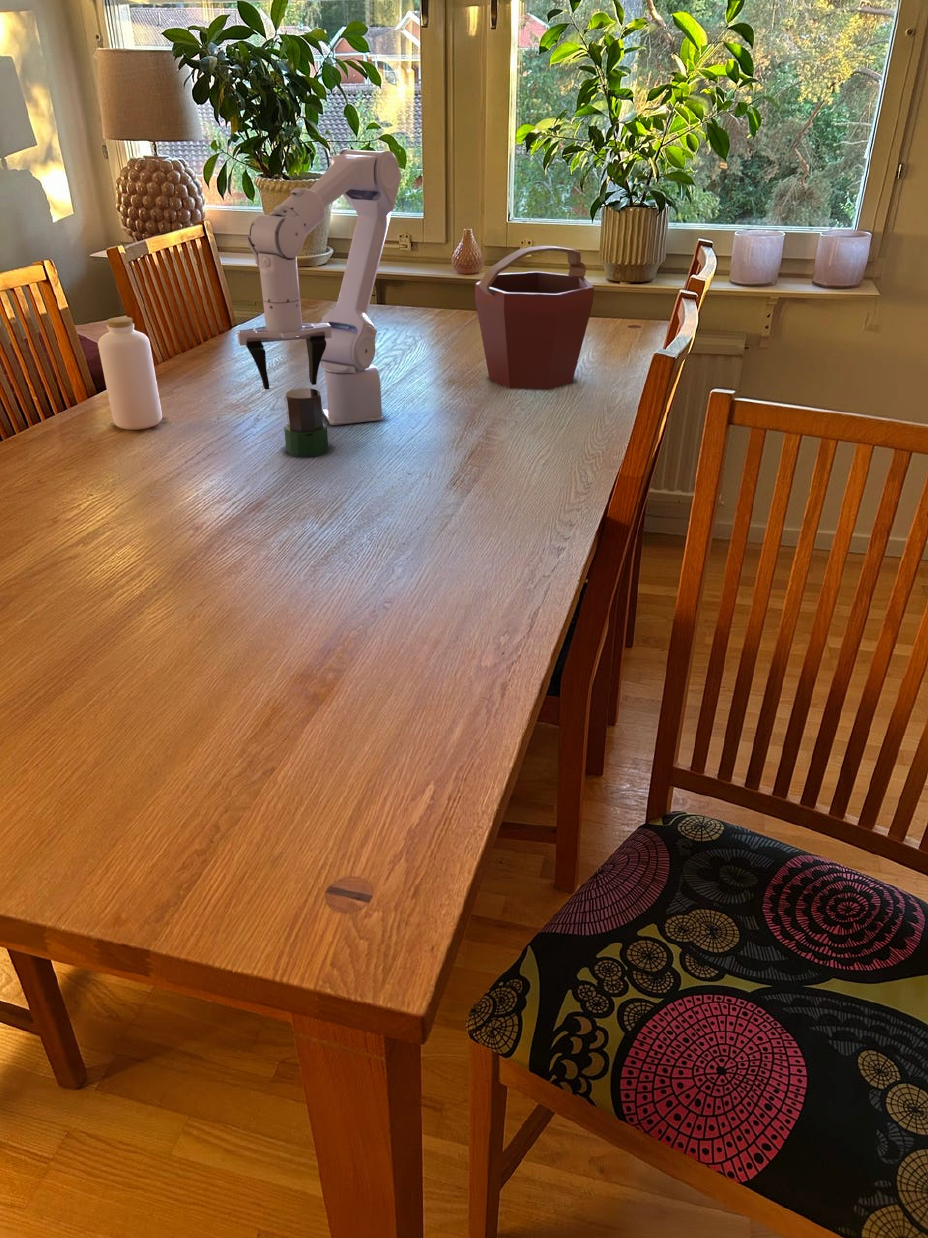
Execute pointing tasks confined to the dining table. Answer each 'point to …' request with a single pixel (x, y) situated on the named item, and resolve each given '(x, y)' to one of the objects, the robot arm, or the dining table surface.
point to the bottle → (306, 442)
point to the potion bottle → (129, 375)
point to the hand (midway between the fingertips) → (289, 385)
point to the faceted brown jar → (304, 410)
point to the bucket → (533, 321)
